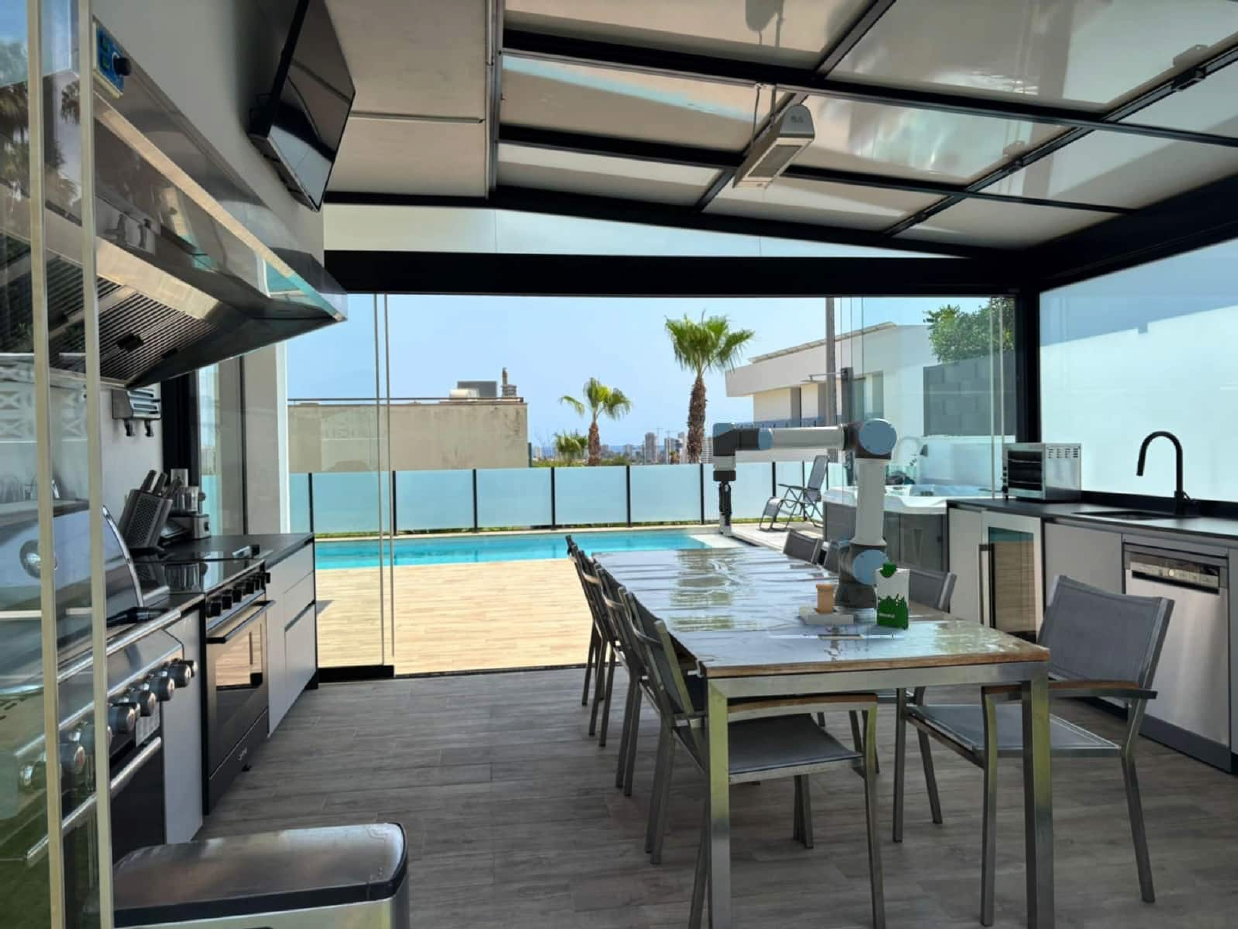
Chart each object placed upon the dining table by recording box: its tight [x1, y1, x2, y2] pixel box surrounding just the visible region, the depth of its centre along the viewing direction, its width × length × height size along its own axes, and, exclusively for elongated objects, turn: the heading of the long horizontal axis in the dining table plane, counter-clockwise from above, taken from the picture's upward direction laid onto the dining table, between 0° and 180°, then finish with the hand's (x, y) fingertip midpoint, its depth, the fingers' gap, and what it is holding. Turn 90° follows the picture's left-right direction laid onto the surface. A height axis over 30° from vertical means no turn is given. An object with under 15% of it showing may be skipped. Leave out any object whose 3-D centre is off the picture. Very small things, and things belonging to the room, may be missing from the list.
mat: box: [816, 633, 865, 641], centre depth 246 cm, size 12×12×1 cm
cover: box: [815, 583, 836, 613], centre depth 263 cm, size 6×6×11 cm
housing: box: [798, 605, 855, 626], centre depth 263 cm, size 14×14×4 cm
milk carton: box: [875, 562, 910, 630], centre depth 256 cm, size 9×9×20 cm
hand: (725, 533), depth 275 cm, fingers open, 13 cm apart
